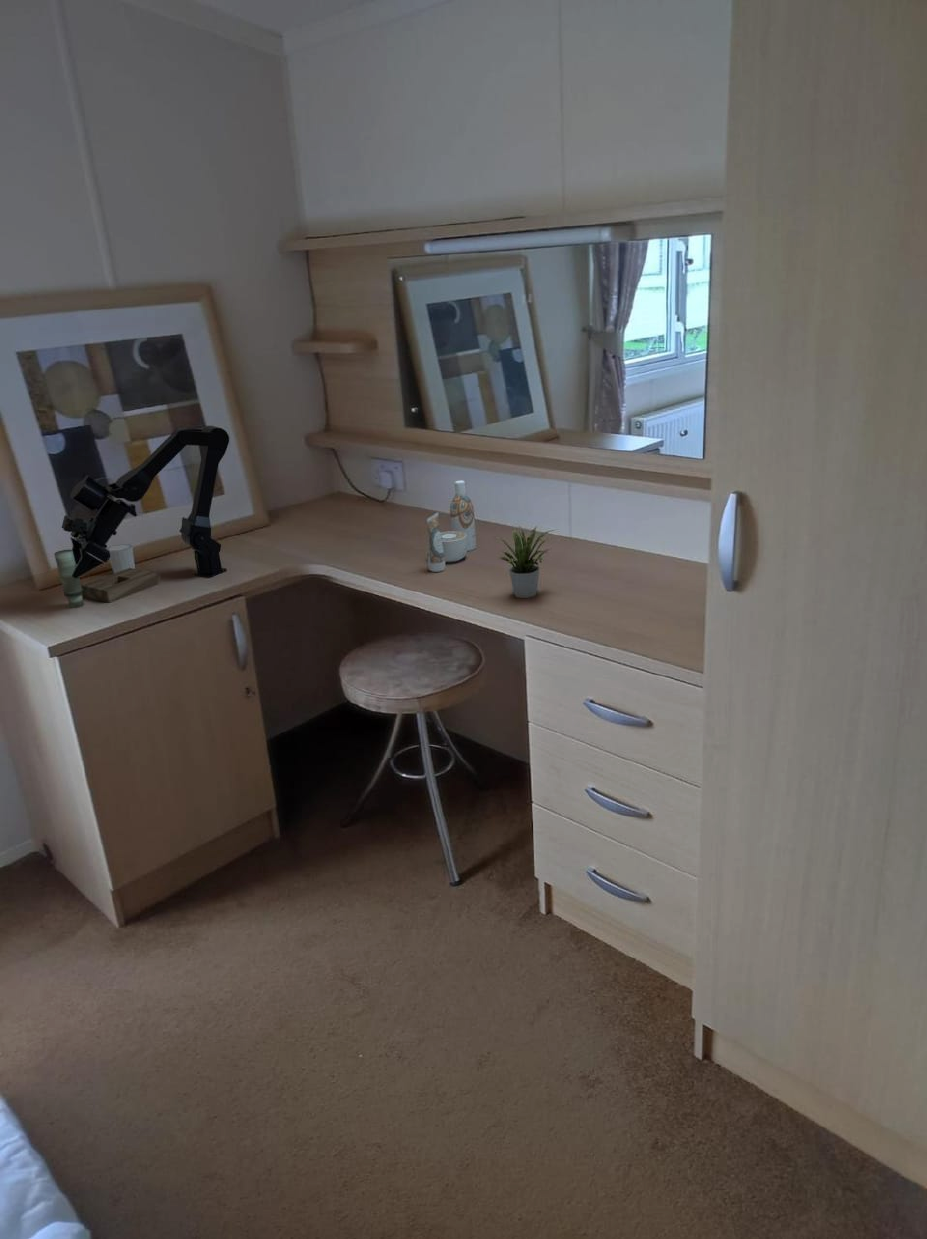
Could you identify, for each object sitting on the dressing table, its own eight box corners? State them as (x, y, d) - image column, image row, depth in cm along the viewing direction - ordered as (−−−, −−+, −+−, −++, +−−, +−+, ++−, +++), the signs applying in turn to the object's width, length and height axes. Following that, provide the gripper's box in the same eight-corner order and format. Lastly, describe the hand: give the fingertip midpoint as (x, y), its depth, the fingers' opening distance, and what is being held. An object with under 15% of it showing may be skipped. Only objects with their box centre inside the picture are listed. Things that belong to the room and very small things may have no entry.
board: (158, 583, 233) (156, 573, 232) (109, 602, 222) (107, 591, 221) (132, 578, 239) (130, 567, 238) (83, 596, 228) (80, 585, 227)
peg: (89, 603, 222) (76, 550, 217) (74, 609, 219) (60, 555, 214) (79, 601, 225) (66, 548, 219) (63, 607, 221) (50, 553, 216)
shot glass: (110, 577, 242) (104, 552, 239) (112, 569, 248) (107, 545, 245) (136, 573, 243) (131, 549, 241) (138, 566, 249) (133, 542, 247)
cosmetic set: (448, 575, 224) (442, 503, 217) (415, 573, 227) (408, 501, 220) (484, 546, 245) (480, 479, 238) (453, 544, 248) (448, 478, 241)
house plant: (573, 592, 206) (572, 524, 200) (534, 609, 198) (531, 539, 191) (528, 580, 216) (525, 515, 210) (488, 596, 207) (484, 529, 201)
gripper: (71, 496, 223) (34, 547, 221) (85, 509, 208) (46, 564, 206) (110, 520, 229) (74, 570, 228) (126, 535, 214) (88, 588, 213)
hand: (70, 572), depth 219 cm, fingers open, 9 cm apart
